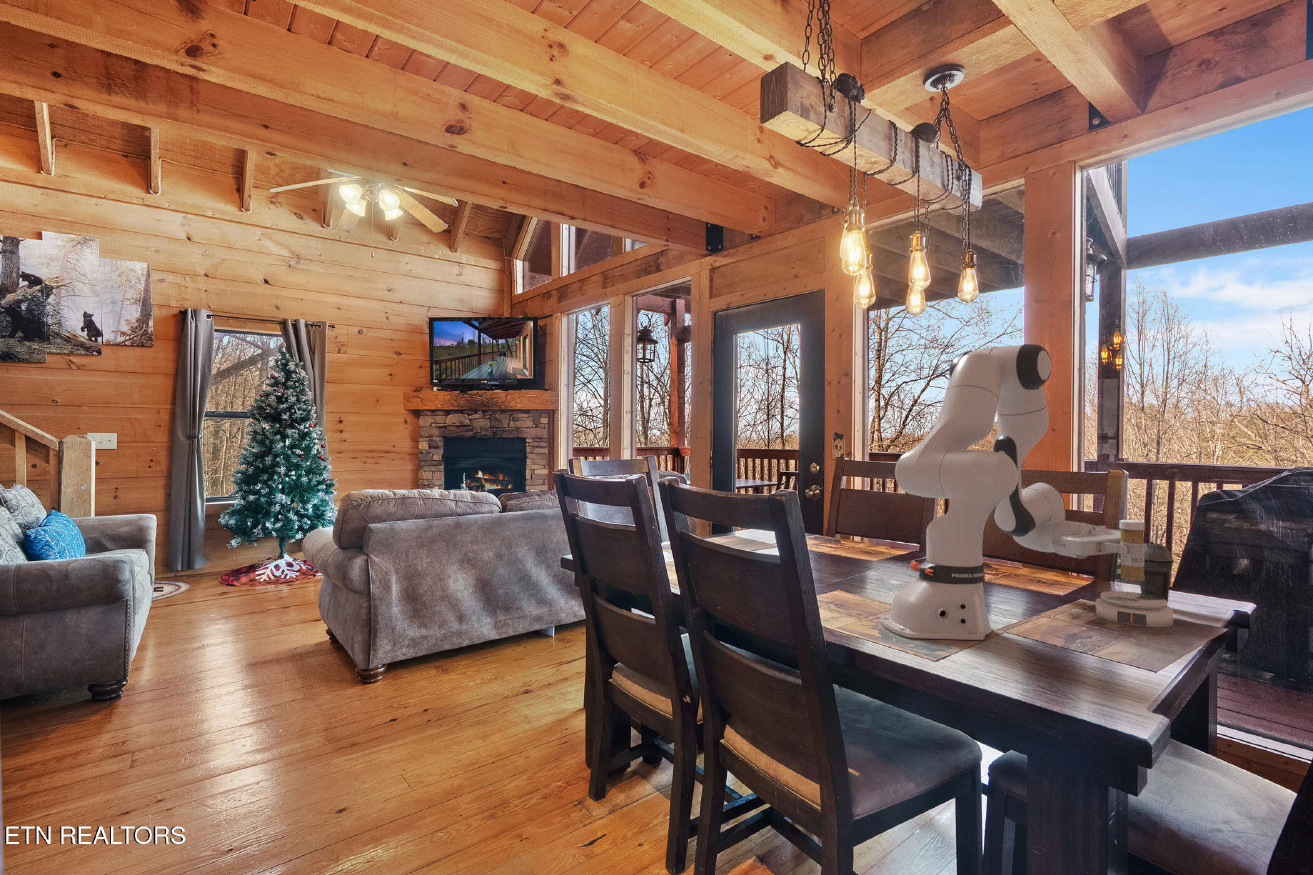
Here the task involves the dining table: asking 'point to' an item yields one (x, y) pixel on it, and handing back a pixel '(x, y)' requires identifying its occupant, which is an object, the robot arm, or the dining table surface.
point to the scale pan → (1134, 600)
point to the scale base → (1134, 615)
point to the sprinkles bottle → (1132, 550)
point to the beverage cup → (1157, 570)
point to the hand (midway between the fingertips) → (1136, 549)
